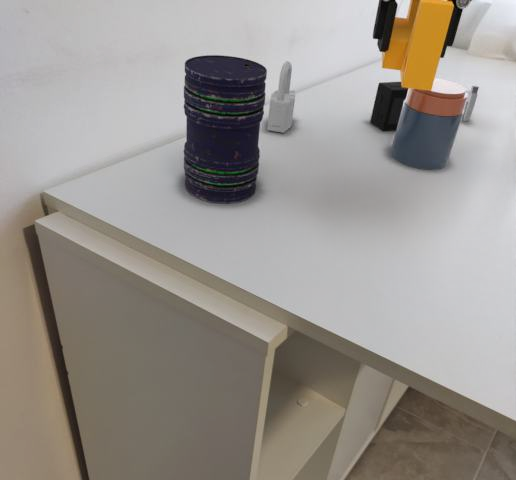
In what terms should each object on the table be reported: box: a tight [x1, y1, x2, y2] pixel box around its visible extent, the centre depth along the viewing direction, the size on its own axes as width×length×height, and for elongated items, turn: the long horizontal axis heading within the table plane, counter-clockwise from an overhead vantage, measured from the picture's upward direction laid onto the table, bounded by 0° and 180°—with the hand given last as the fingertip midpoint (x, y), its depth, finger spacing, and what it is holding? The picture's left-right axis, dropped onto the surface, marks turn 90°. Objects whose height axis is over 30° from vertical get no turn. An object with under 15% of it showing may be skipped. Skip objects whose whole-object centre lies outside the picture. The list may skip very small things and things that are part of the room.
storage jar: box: [183, 54, 268, 204], centre depth 68 cm, size 10×10×15 cm
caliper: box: [461, 85, 480, 122], centre depth 108 cm, size 20×1×6 cm, turn 171°
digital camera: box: [369, 81, 408, 132], centre depth 95 cm, size 10×5×7 cm, turn 114°
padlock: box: [266, 61, 296, 134], centre depth 89 cm, size 7×4×10 cm, turn 166°
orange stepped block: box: [381, 0, 454, 91], centre depth 50 cm, size 12×4×6 cm, turn 170°
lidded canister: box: [389, 77, 468, 170], centre depth 83 cm, size 9×9×11 cm
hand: (410, 49), depth 51 cm, fingers closed on orange stepped block, 4 cm apart
